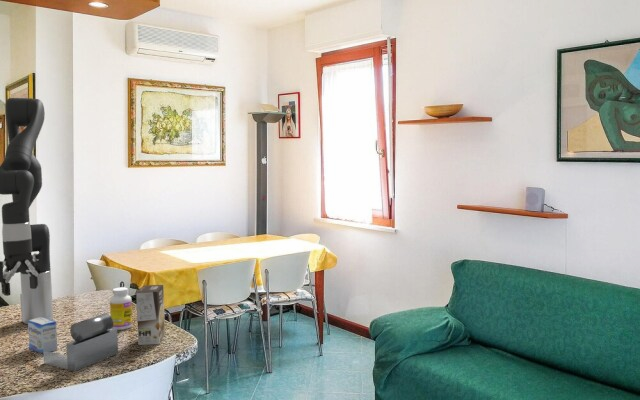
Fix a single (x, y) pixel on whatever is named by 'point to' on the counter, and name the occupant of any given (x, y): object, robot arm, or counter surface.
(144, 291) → the coffee box
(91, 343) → the motor dock
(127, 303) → the supplement bottle
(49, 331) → the medicine box
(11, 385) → the counter surface
